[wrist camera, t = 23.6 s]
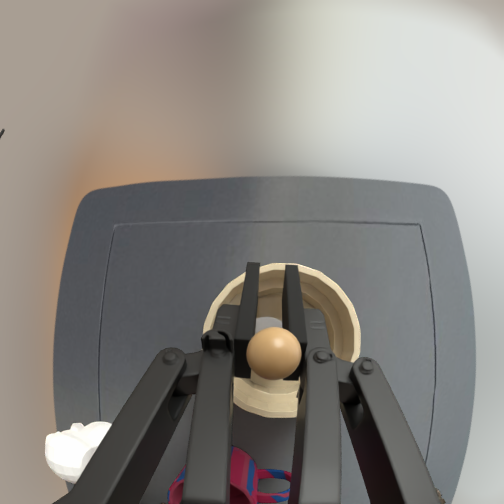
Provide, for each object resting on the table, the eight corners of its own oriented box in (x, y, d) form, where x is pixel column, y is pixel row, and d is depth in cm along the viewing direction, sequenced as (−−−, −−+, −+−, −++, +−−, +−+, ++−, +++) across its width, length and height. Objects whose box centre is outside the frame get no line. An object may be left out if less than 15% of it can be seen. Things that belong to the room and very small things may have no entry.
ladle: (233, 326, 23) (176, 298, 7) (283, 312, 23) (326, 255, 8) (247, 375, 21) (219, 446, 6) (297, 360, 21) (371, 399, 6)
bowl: (203, 299, 25) (186, 287, 19) (317, 266, 25) (332, 245, 20) (235, 412, 21) (227, 433, 16) (351, 376, 22) (376, 385, 16)
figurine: (162, 416, 21) (95, 459, 10) (166, 456, 20) (111, 514, 8) (93, 404, 21) (13, 423, 10) (99, 442, 20) (27, 474, 9)
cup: (185, 440, 20) (162, 469, 14) (292, 441, 20) (303, 472, 14) (191, 492, 18) (173, 527, 12) (292, 494, 18) (300, 531, 12)
